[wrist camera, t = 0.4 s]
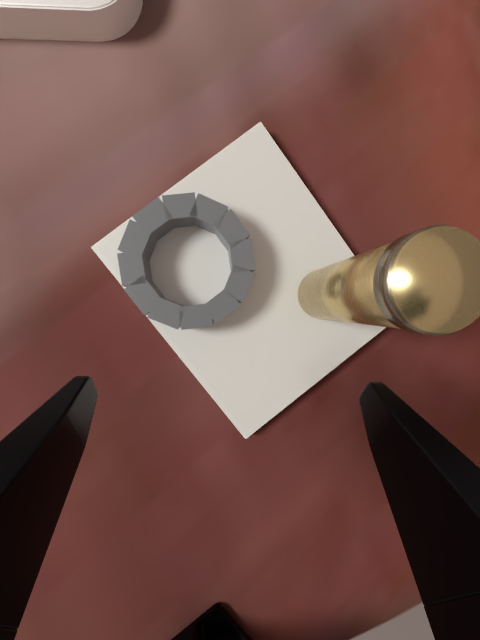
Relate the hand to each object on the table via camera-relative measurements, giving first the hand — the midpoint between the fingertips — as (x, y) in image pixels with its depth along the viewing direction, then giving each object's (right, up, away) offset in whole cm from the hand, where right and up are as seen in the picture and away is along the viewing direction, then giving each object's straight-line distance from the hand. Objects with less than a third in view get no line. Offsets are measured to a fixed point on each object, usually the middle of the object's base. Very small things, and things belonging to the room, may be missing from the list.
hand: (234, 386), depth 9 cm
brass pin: (+7, +4, +13) cm, 15 cm away
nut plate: (+1, +5, +14) cm, 15 cm away
